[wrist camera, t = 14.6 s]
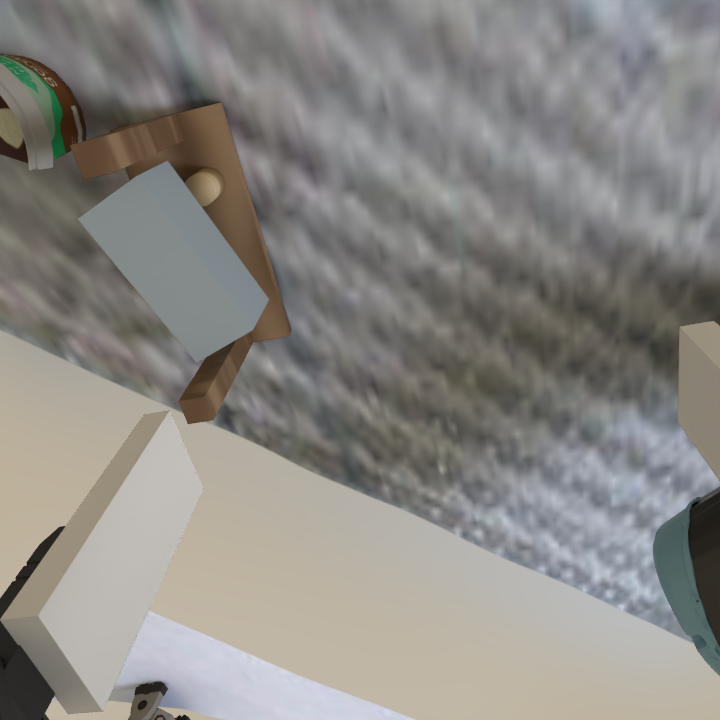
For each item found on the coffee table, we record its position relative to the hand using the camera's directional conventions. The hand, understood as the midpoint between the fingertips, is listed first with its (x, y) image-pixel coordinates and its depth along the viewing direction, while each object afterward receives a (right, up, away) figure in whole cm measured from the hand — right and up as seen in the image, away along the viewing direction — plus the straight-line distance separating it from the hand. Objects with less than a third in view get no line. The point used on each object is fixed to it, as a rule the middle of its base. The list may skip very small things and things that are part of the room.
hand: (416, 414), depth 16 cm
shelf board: (-15, +10, +33) cm, 37 cm away
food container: (-27, +23, +32) cm, 48 cm away
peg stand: (-14, +12, +36) cm, 41 cm away
